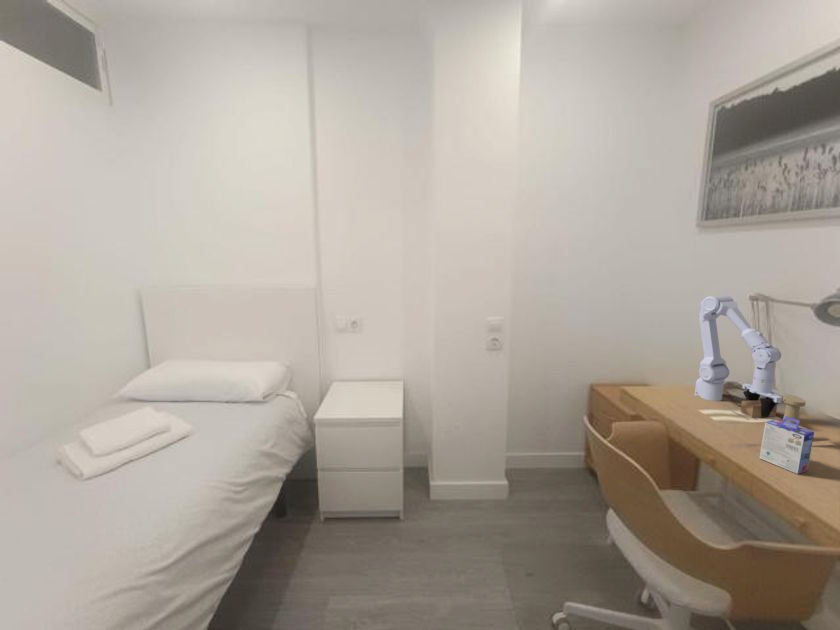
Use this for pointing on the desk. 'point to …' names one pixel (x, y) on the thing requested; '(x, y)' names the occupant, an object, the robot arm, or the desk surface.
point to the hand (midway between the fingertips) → (758, 413)
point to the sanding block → (755, 409)
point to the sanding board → (734, 416)
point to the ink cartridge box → (787, 445)
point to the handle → (792, 407)
